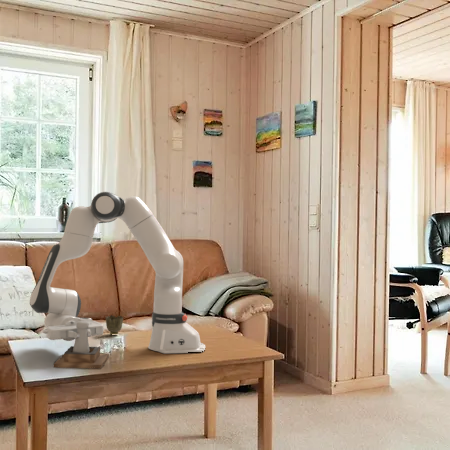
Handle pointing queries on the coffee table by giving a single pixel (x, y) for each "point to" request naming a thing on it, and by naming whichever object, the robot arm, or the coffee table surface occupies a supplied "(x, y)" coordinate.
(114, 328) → the cup
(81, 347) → the salt shaker
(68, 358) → the stepped wooden plinth
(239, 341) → the coffee table surface
